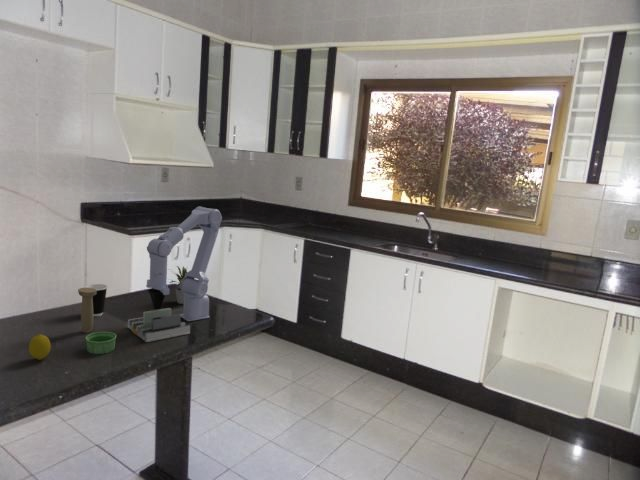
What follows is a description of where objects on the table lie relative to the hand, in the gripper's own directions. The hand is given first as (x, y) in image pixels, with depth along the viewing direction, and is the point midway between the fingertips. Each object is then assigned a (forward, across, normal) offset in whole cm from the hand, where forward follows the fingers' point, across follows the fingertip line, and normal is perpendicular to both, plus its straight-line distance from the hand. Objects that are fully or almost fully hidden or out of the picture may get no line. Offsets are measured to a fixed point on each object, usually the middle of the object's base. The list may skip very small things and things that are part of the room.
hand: (157, 308), depth 170 cm
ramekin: (+8, +8, -22) cm, 25 cm away
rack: (+8, +2, 0) cm, 8 cm away
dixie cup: (+8, -25, -13) cm, 29 cm away
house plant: (+8, -25, +22) cm, 34 cm away
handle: (+8, -9, -21) cm, 24 cm away
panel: (+7, 0, 0) cm, 7 cm away
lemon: (+8, +7, -39) cm, 40 cm away
